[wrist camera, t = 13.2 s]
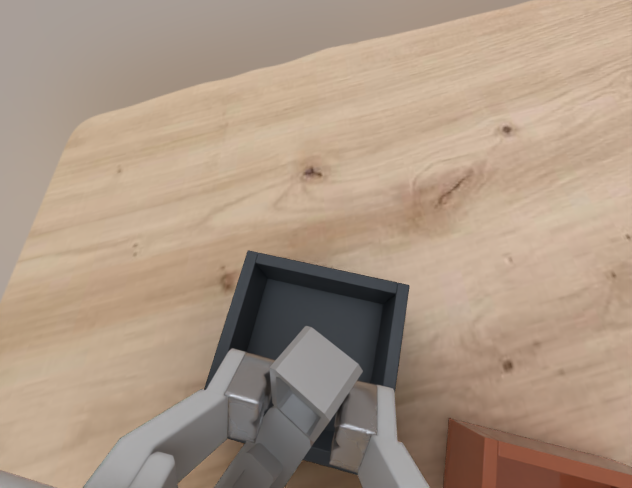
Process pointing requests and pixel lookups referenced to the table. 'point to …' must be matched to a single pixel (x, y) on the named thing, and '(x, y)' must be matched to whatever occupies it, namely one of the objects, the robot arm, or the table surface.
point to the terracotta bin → (523, 462)
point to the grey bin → (315, 321)
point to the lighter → (294, 411)
